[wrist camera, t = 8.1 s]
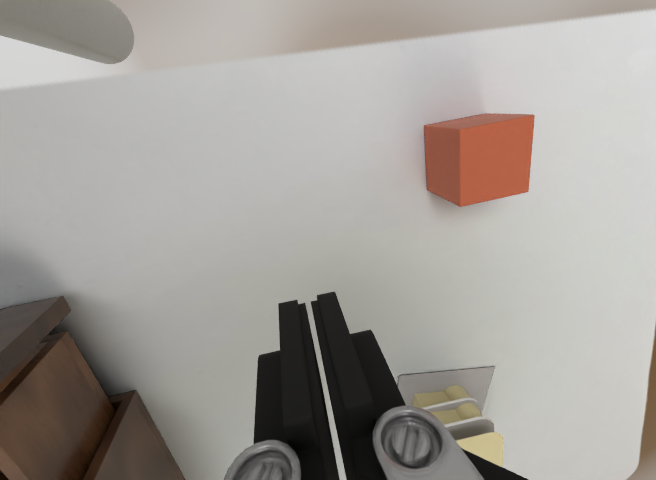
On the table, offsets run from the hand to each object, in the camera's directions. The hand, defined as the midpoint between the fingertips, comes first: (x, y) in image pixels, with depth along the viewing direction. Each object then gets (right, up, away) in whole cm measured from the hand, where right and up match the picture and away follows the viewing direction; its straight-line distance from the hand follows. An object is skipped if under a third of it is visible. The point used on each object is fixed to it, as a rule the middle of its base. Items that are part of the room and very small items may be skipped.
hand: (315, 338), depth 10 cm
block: (+10, +9, +14) cm, 19 cm away
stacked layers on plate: (+12, -14, +24) cm, 30 cm away
